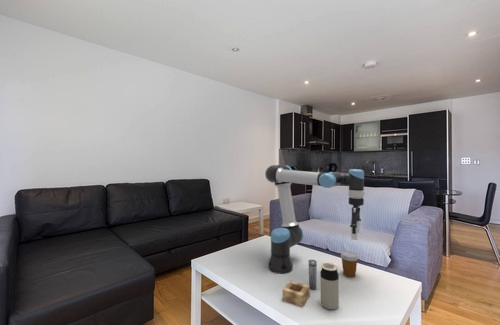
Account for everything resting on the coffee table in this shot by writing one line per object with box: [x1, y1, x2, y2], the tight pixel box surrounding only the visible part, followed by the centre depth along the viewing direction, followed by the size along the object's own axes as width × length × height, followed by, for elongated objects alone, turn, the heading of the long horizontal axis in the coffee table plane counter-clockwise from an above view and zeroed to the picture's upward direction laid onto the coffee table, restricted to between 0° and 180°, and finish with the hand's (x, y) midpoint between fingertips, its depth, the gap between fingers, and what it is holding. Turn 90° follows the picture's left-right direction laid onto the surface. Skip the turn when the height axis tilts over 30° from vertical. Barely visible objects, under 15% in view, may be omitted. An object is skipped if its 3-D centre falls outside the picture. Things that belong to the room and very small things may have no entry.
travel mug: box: [319, 262, 340, 310], centre depth 107 cm, size 8×8×18 cm
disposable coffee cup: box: [340, 251, 359, 278], centre depth 135 cm, size 10×10×12 cm
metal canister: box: [308, 259, 318, 291], centre depth 121 cm, size 4×4×14 cm
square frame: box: [282, 280, 311, 308], centre depth 112 cm, size 10×10×5 cm
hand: (355, 235), depth 127 cm, fingers open, 13 cm apart
